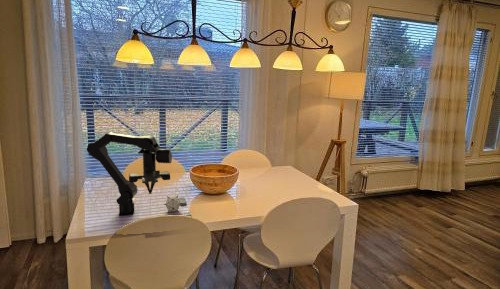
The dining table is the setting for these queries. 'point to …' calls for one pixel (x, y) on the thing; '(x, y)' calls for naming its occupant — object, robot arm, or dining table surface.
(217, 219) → the dining table surface
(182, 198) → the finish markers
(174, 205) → the grey spiked polyhedron
